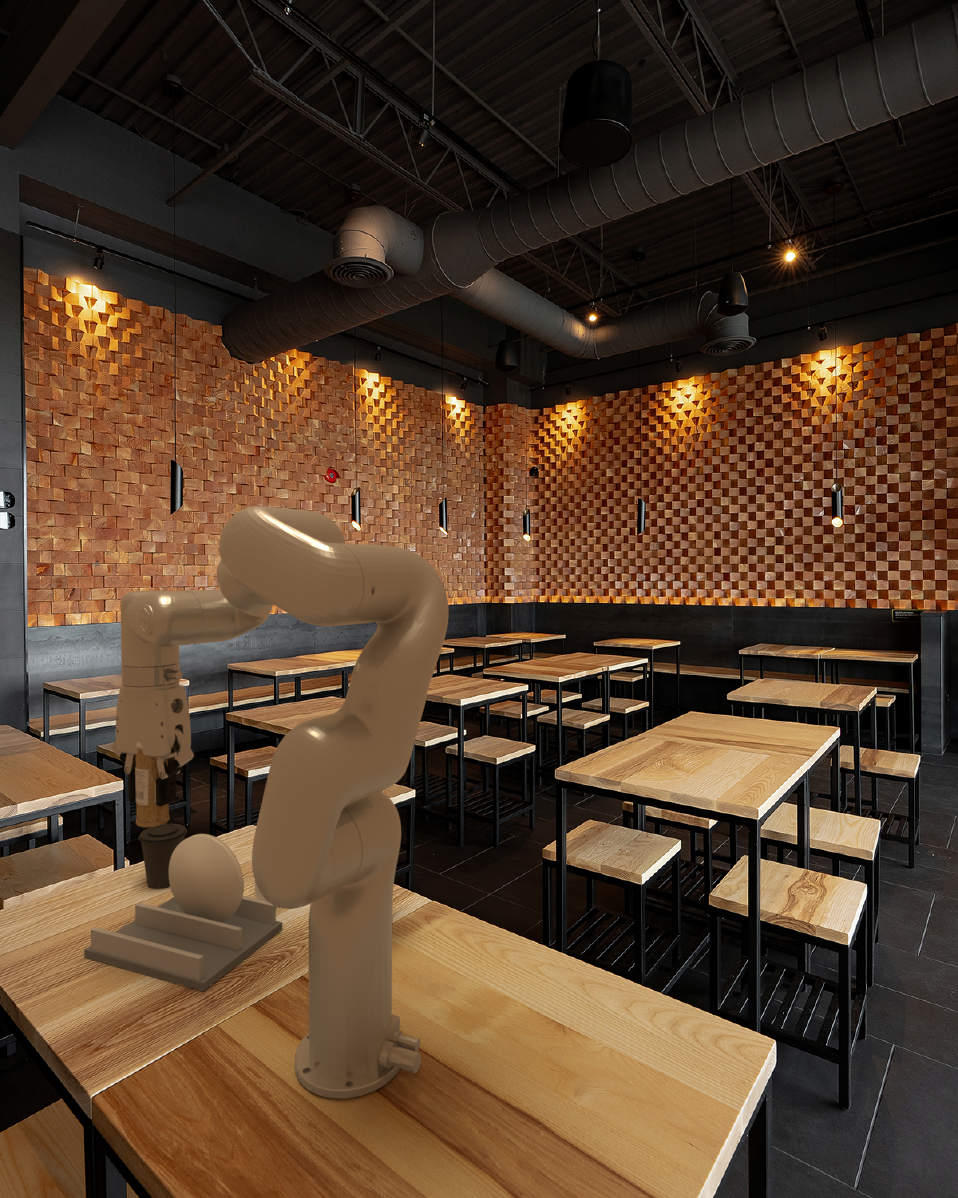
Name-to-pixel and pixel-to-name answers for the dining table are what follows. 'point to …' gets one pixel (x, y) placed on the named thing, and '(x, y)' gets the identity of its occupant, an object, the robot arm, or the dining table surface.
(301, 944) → the dining table surface
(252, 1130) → the dining table surface
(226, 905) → the dish rack
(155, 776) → the sprinkles bottle
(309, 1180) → the dining table surface
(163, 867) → the dark brown tapered cylinder
